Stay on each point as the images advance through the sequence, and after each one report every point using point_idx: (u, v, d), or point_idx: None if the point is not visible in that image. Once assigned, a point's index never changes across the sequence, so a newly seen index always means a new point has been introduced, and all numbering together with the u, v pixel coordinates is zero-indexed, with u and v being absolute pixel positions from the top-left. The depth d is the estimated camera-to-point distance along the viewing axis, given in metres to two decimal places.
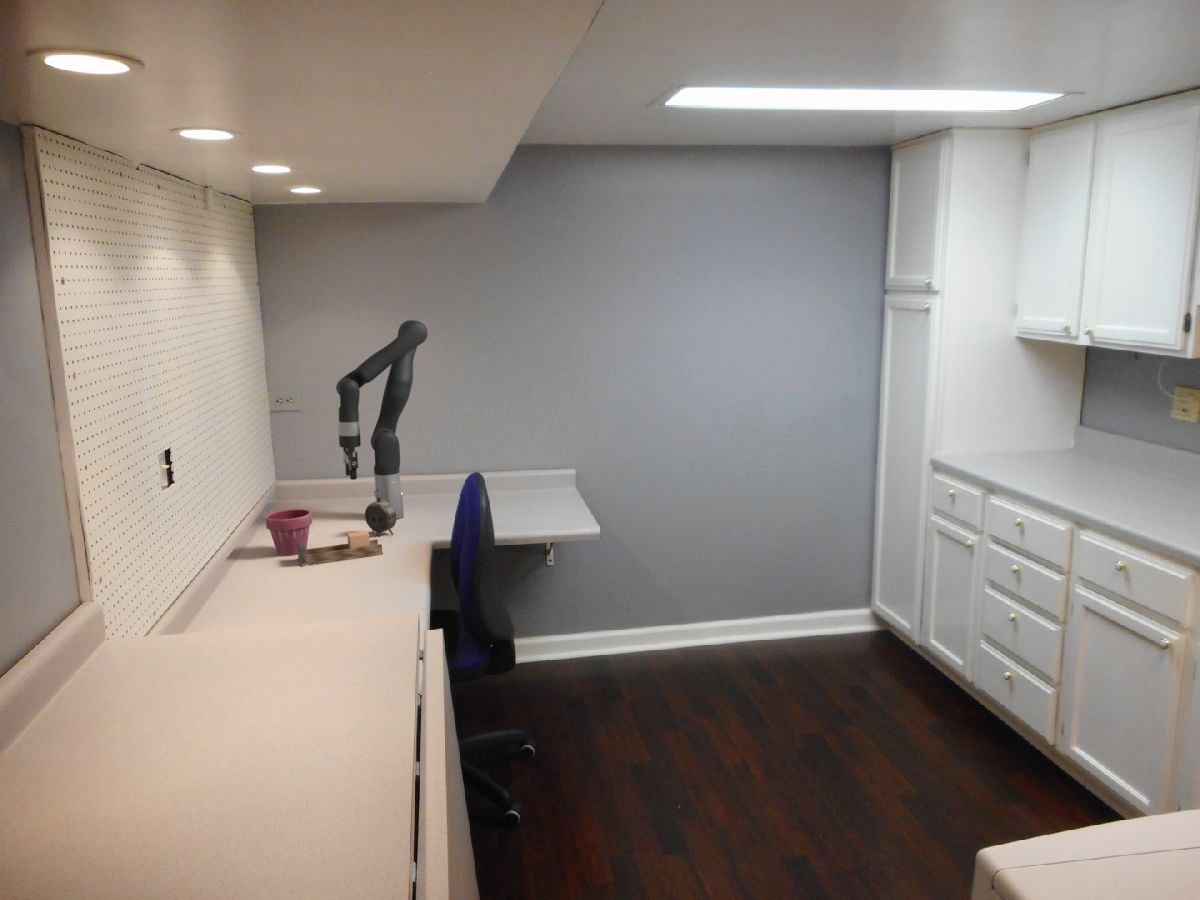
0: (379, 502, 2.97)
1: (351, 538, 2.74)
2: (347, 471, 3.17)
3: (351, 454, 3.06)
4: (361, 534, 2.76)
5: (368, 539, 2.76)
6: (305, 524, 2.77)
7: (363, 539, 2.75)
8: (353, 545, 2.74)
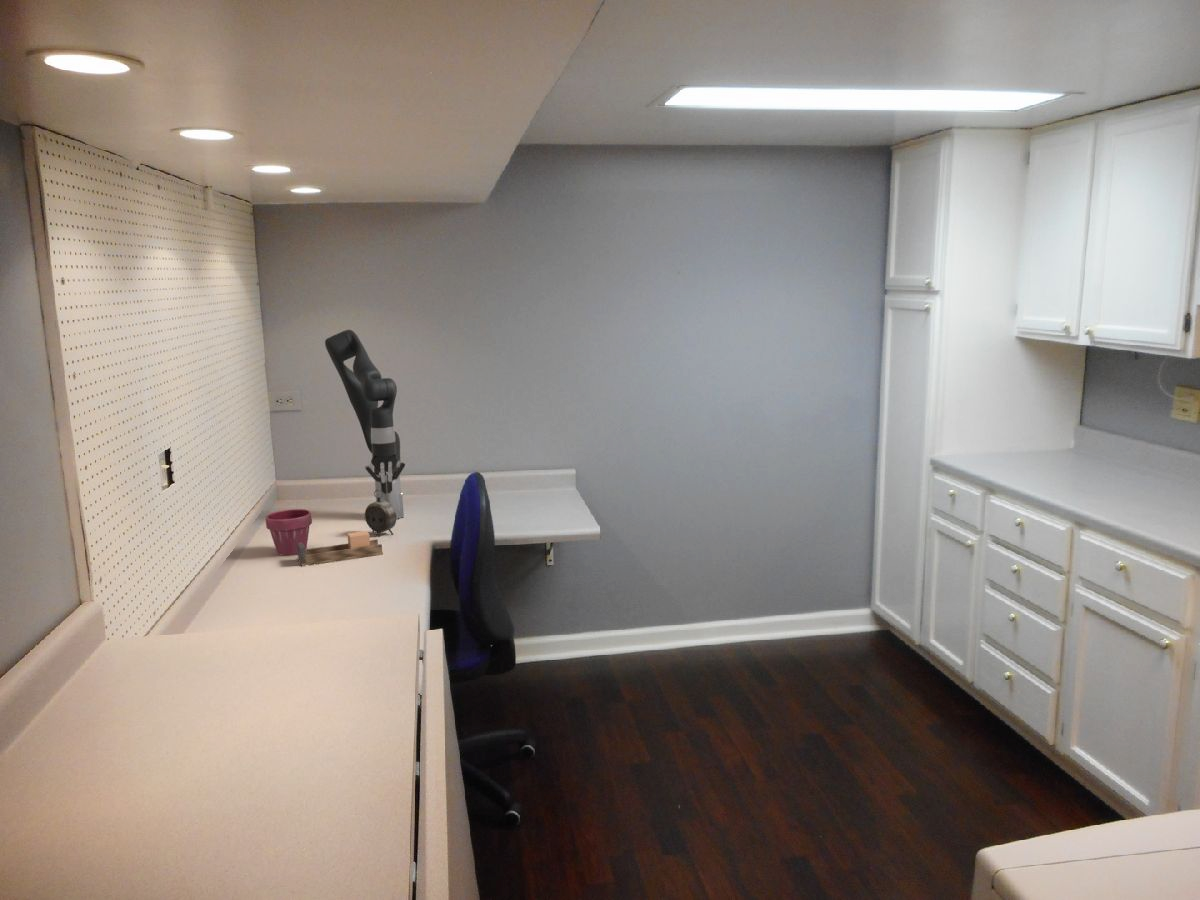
0: (379, 502, 2.97)
1: (351, 538, 2.74)
2: None
3: None
4: (361, 534, 2.76)
5: (368, 539, 2.76)
6: (305, 524, 2.77)
7: (363, 539, 2.75)
8: (353, 545, 2.74)
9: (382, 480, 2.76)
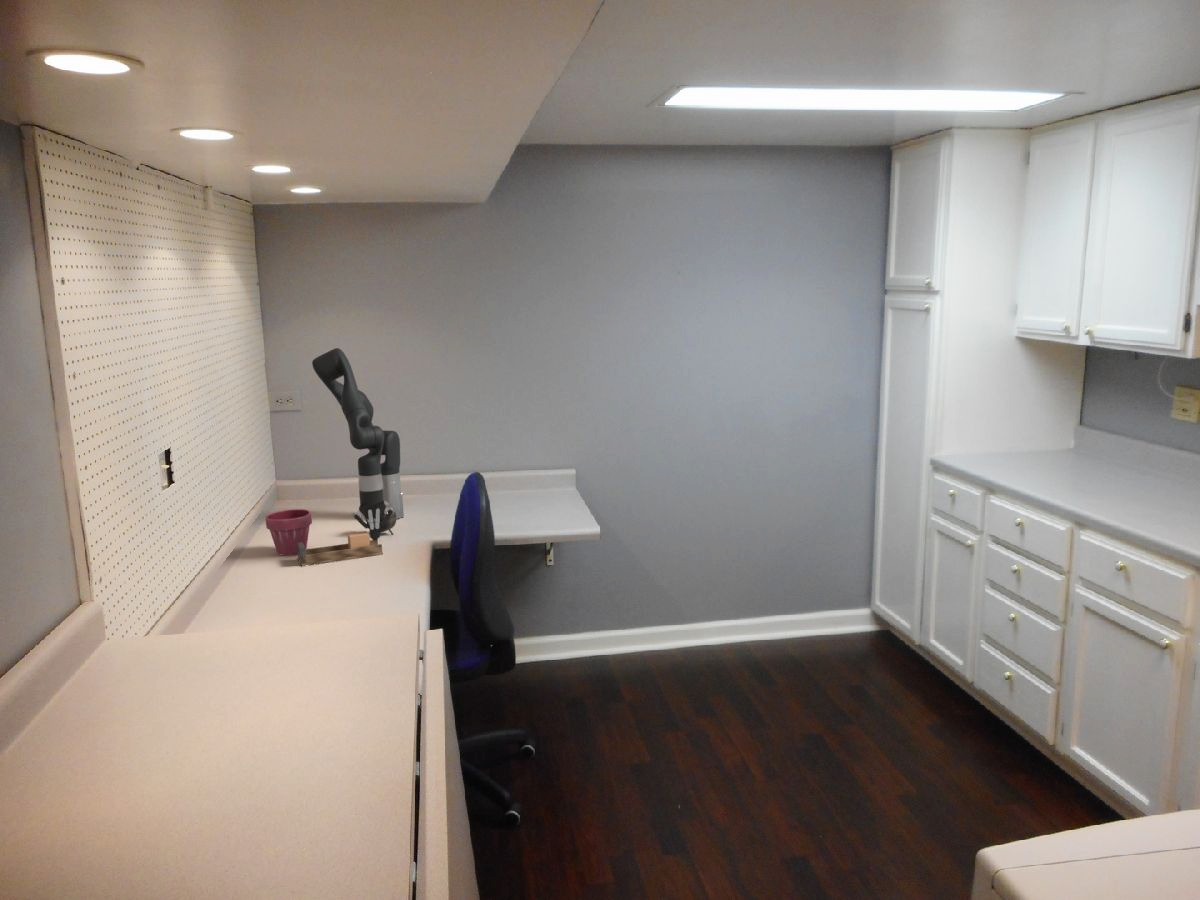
0: None
1: (351, 538, 2.74)
2: None
3: None
4: (361, 534, 2.76)
5: (368, 539, 2.76)
6: (305, 524, 2.77)
7: (363, 539, 2.75)
8: (353, 545, 2.74)
9: (371, 527, 2.77)
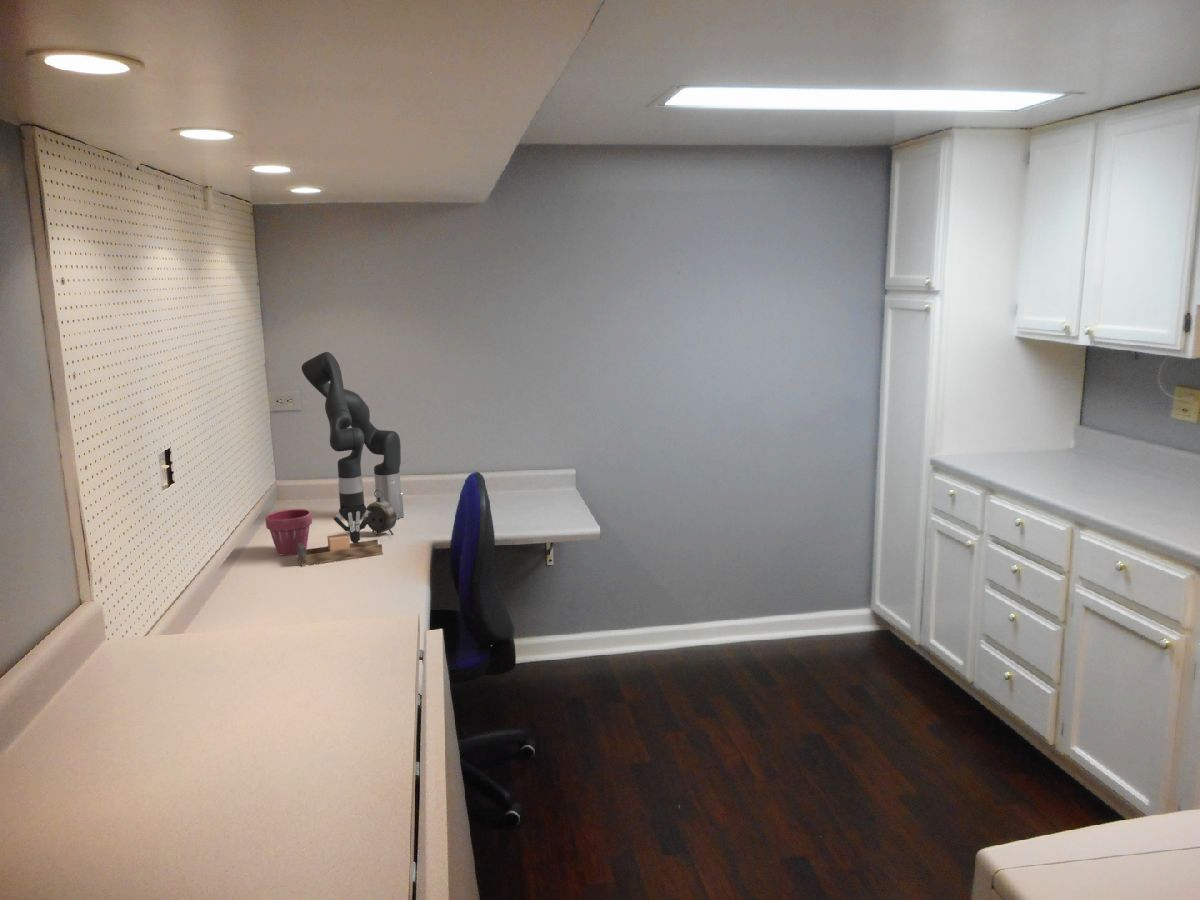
0: (379, 502, 2.97)
1: (331, 541, 2.71)
2: None
3: (372, 515, 2.77)
4: (341, 537, 2.73)
5: (348, 542, 2.73)
6: (305, 524, 2.77)
7: (343, 542, 2.73)
8: (333, 548, 2.71)
9: (351, 530, 2.74)
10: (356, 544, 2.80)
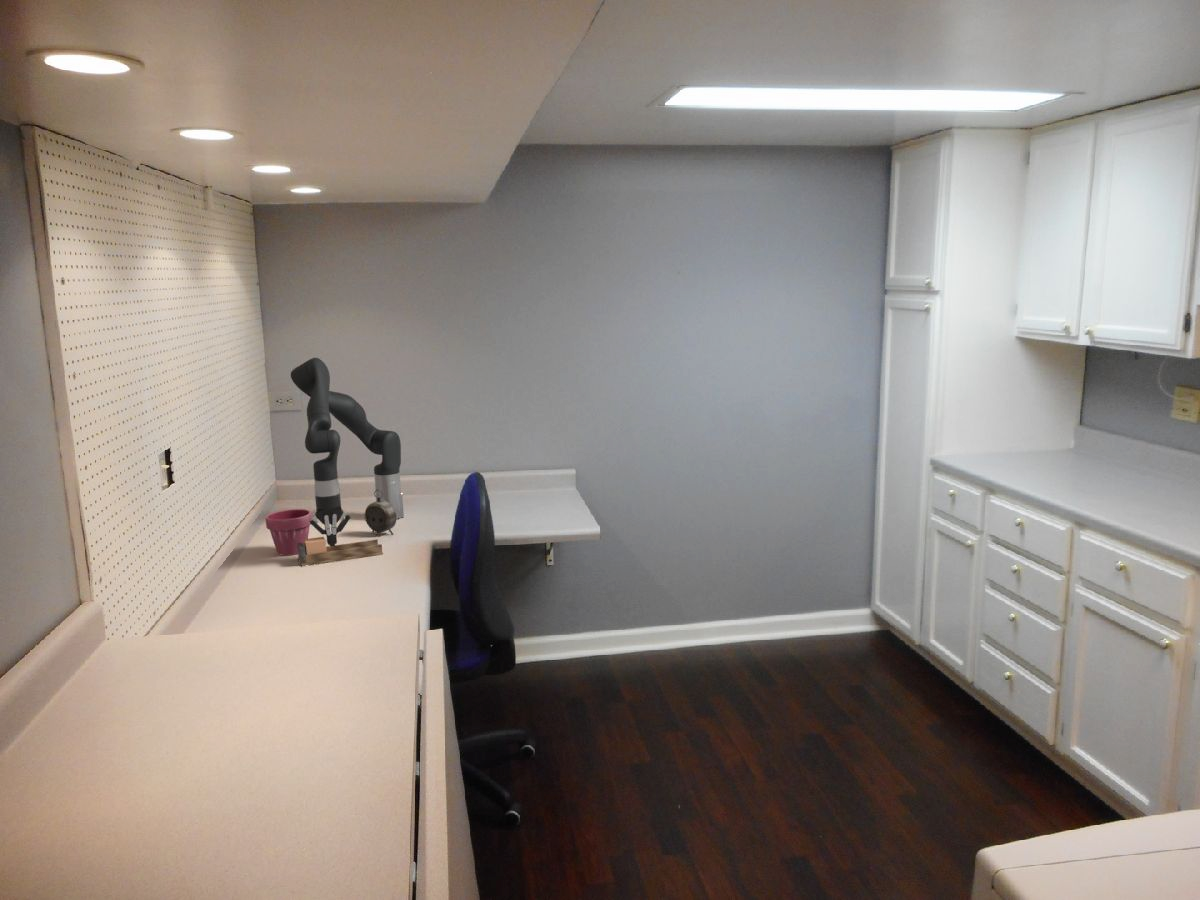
0: (379, 502, 2.97)
1: (307, 544, 2.68)
2: None
3: (349, 518, 2.74)
4: (317, 540, 2.70)
5: (325, 545, 2.70)
6: (305, 524, 2.77)
7: (319, 545, 2.69)
8: (309, 551, 2.68)
9: (328, 533, 2.71)
10: (356, 544, 2.80)
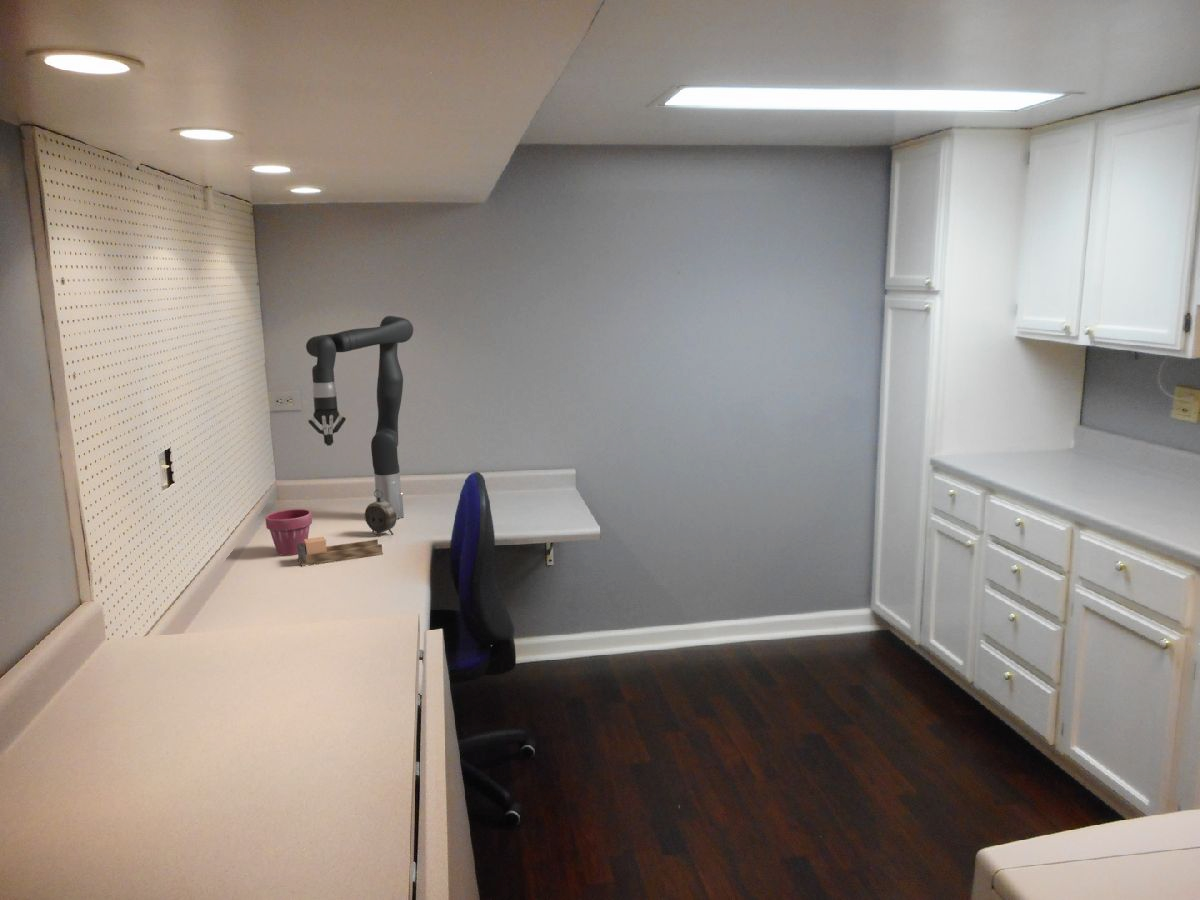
0: (379, 502, 2.97)
1: (307, 544, 2.68)
2: None
3: (344, 420, 2.96)
4: (317, 540, 2.70)
5: (324, 545, 2.70)
6: (305, 524, 2.77)
7: (319, 545, 2.69)
8: (309, 551, 2.68)
9: (325, 432, 2.93)
10: (356, 544, 2.80)
